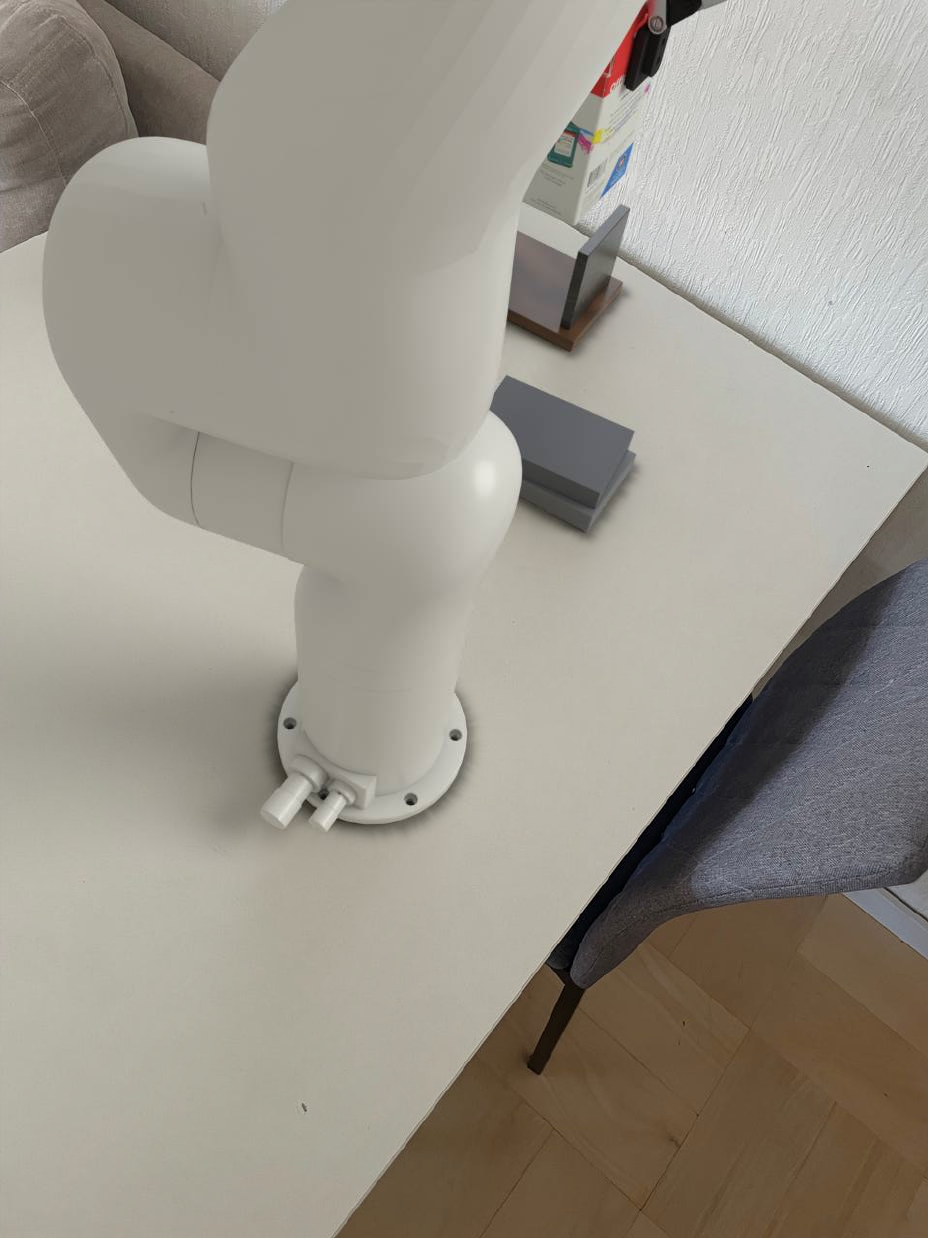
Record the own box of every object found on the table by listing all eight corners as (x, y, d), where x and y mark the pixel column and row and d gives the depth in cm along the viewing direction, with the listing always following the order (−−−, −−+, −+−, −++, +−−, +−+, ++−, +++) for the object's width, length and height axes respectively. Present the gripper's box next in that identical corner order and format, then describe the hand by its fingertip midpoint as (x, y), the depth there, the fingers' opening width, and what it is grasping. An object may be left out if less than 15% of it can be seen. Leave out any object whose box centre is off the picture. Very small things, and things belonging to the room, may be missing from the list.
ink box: (572, 148, 80) (617, -54, 67) (627, 175, 79) (683, -25, 66) (516, 201, 76) (553, -4, 63) (573, 230, 75) (622, 28, 62)
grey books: (585, 534, 80) (596, 503, 77) (453, 462, 82) (459, 429, 79) (631, 468, 84) (644, 435, 81) (505, 401, 87) (512, 367, 83)
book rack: (570, 352, 91) (599, 247, 81) (356, 243, 95) (359, 131, 86) (620, 291, 96) (652, 186, 86) (414, 191, 100) (423, 80, 91)
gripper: (504, -310, 53) (465, 38, 69) (799, -199, 50) (689, 141, 65) (572, -343, 57) (521, -5, 73) (851, -242, 54) (735, 90, 69)
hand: (601, 61), depth 69 cm, fingers closed on ink box, 5 cm apart
